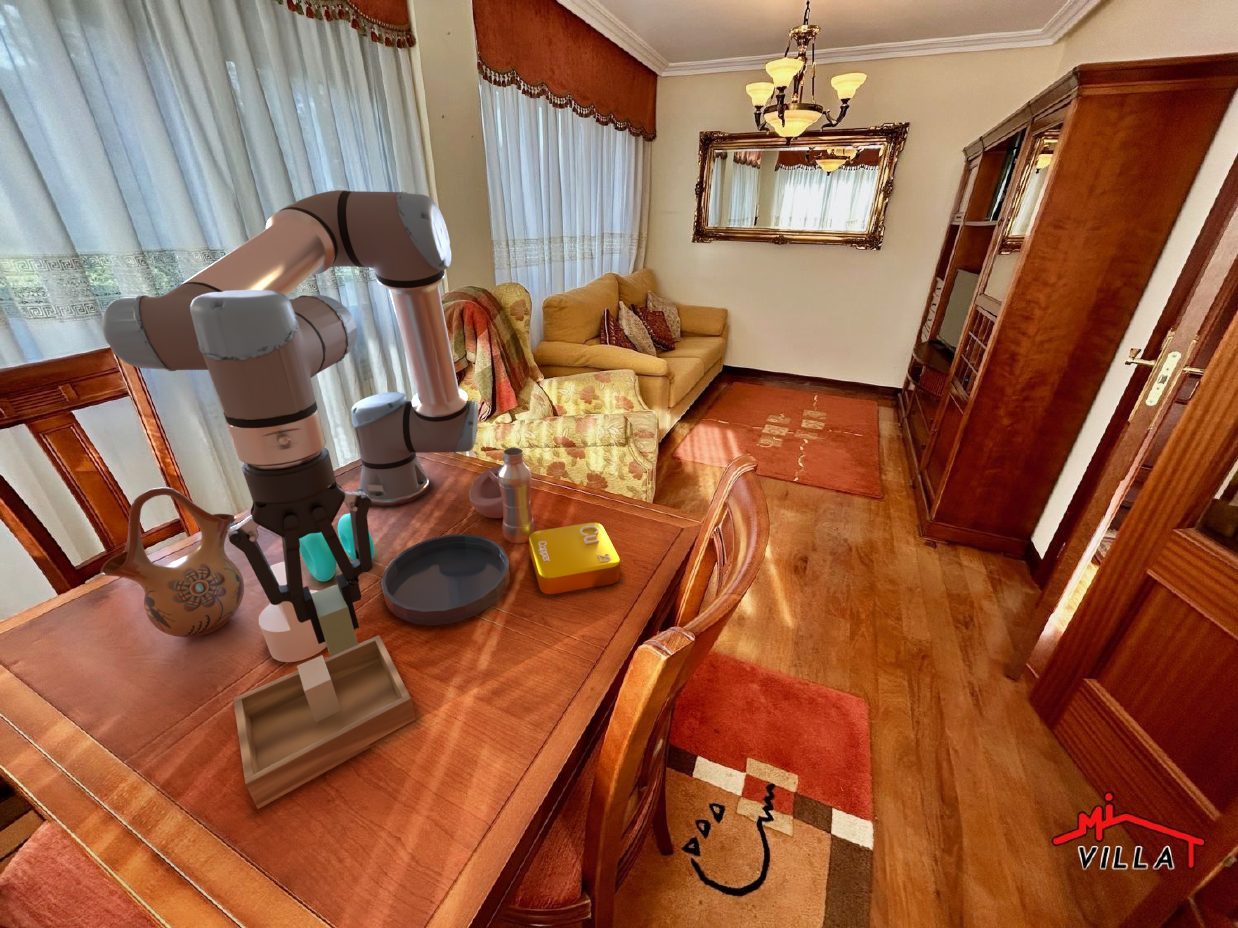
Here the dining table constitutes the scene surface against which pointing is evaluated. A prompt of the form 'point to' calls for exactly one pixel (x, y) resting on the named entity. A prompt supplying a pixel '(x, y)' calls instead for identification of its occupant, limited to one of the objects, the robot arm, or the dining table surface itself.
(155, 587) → the ceramic vessel
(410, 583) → the dark grey round tray
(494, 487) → the pink rounded hollow piece
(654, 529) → the dining table surface
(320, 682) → the beige rectangular block
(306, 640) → the base with upright slab
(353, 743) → the holder
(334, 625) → the green rectangular block
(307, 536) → the donuts
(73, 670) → the dining table surface
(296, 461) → the robot arm
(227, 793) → the dining table surface
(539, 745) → the dining table surface
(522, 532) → the silver metal bottle
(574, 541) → the element tile
